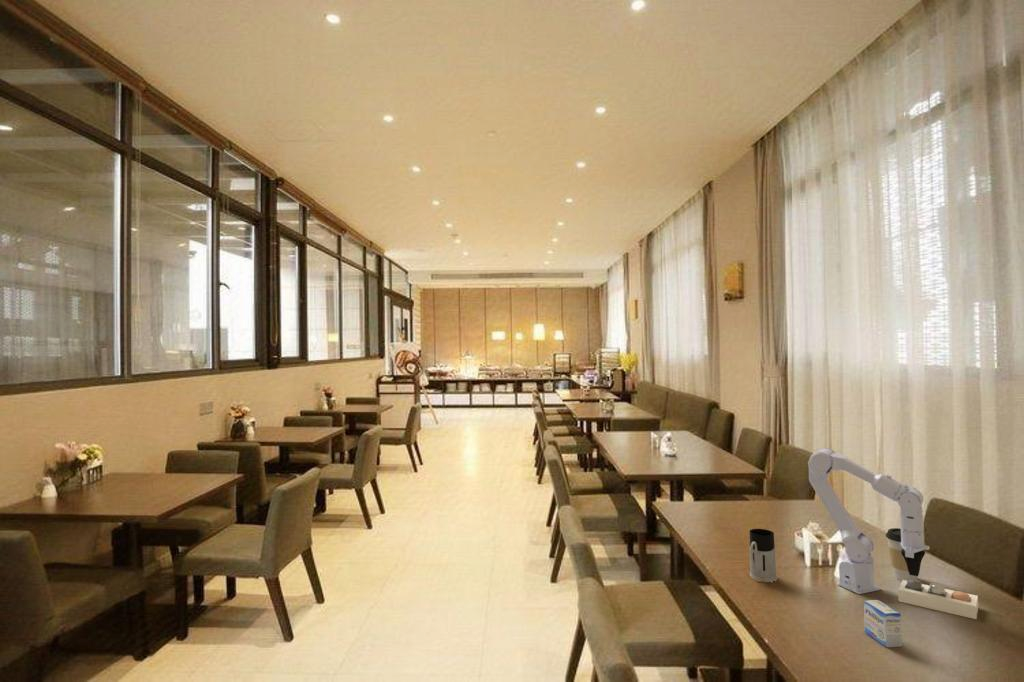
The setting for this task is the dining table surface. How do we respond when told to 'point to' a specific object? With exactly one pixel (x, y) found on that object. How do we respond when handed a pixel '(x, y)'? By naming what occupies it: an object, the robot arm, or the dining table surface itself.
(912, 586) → the grey stone
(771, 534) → the glass holder
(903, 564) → the coffee cup
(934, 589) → the grey rock
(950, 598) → the cream rectangular tray
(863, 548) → the robot arm
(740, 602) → the dining table surface
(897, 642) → the medicine box
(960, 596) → the tan rounded lump
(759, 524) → the dining table surface
